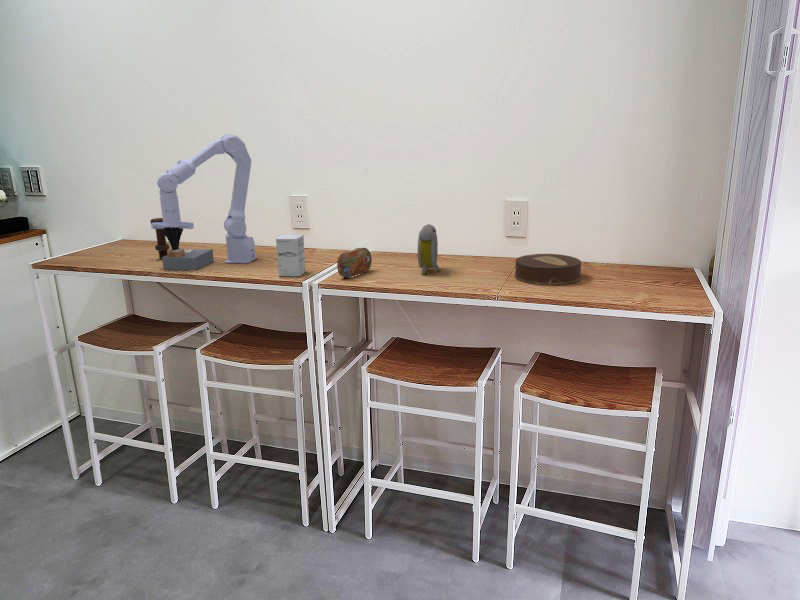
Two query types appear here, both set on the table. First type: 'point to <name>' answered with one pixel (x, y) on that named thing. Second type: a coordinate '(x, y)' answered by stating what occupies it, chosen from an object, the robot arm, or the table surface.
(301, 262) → the supplement box
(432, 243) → the grey upright figure
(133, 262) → the table surface
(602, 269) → the table surface
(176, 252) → the tan cube
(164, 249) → the bolt
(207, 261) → the socket block
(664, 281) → the table surface
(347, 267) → the tin
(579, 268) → the container
